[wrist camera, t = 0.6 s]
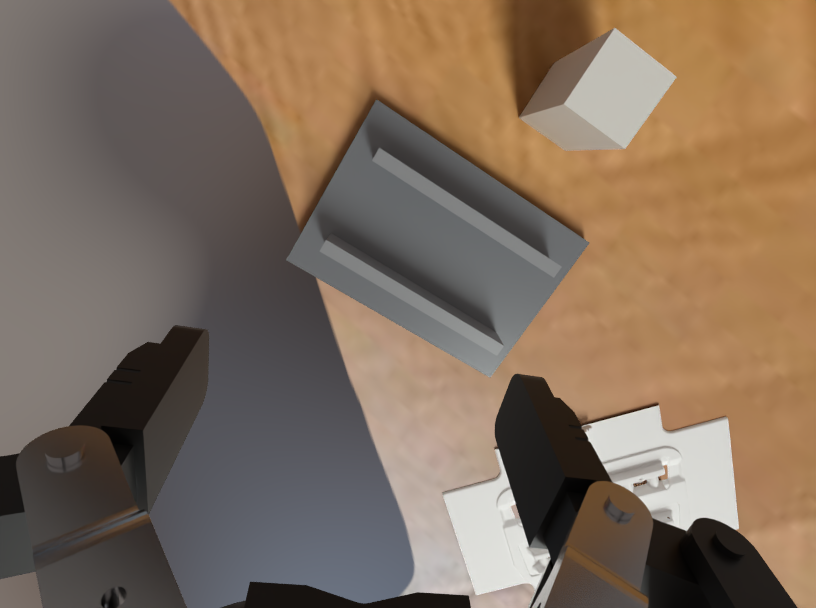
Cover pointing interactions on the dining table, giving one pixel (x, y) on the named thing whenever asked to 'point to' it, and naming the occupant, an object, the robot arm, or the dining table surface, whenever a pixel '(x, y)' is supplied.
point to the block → (598, 95)
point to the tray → (625, 464)
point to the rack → (434, 242)
